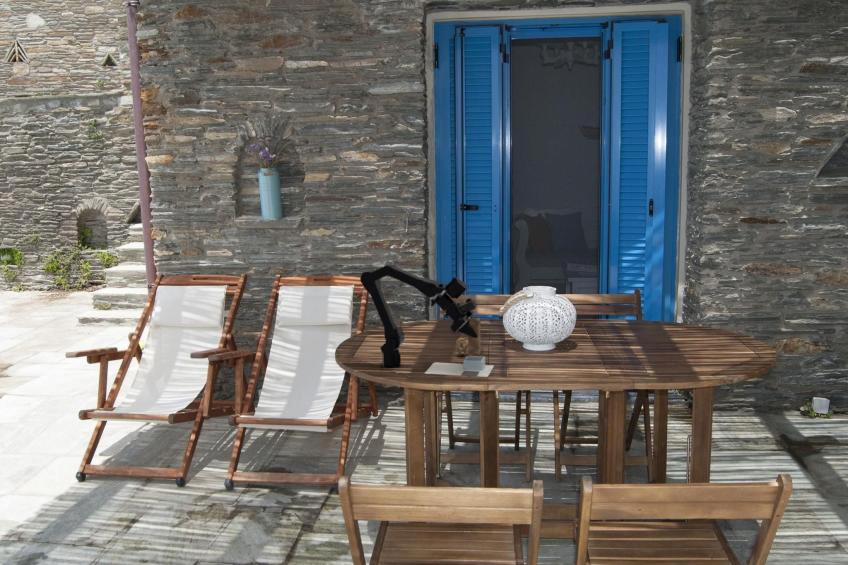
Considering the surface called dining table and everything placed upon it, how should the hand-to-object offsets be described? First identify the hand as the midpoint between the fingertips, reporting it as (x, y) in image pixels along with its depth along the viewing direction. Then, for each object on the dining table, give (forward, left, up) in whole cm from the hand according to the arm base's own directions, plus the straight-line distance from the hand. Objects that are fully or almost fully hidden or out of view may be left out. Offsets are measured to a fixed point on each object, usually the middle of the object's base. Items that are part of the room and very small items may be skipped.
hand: (477, 336), depth 300 cm
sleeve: (-1, +1, -12) cm, 13 cm away
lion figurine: (+1, +21, -14) cm, 25 cm away
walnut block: (-1, +1, -6) cm, 7 cm away
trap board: (-7, 0, -13) cm, 15 cm away
